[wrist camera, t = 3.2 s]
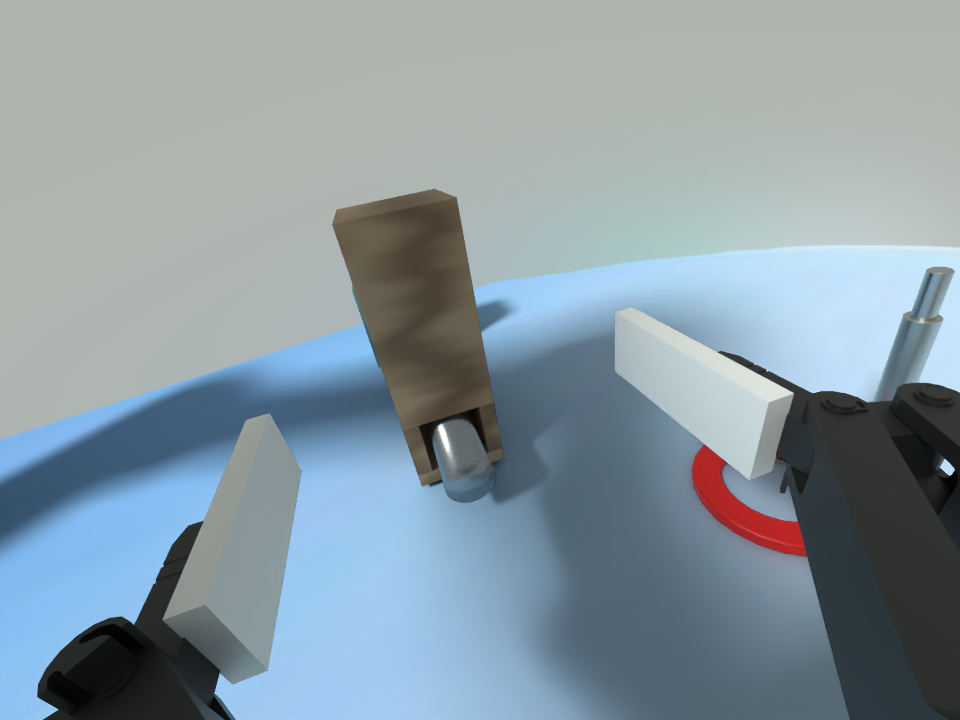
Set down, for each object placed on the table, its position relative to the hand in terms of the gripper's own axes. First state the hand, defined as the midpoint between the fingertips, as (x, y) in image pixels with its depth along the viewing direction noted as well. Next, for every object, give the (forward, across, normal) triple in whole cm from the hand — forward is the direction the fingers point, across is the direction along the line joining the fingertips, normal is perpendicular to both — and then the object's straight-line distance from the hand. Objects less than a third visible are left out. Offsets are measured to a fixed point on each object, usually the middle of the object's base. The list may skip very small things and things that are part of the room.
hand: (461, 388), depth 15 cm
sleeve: (+11, 0, -12) cm, 16 cm away
